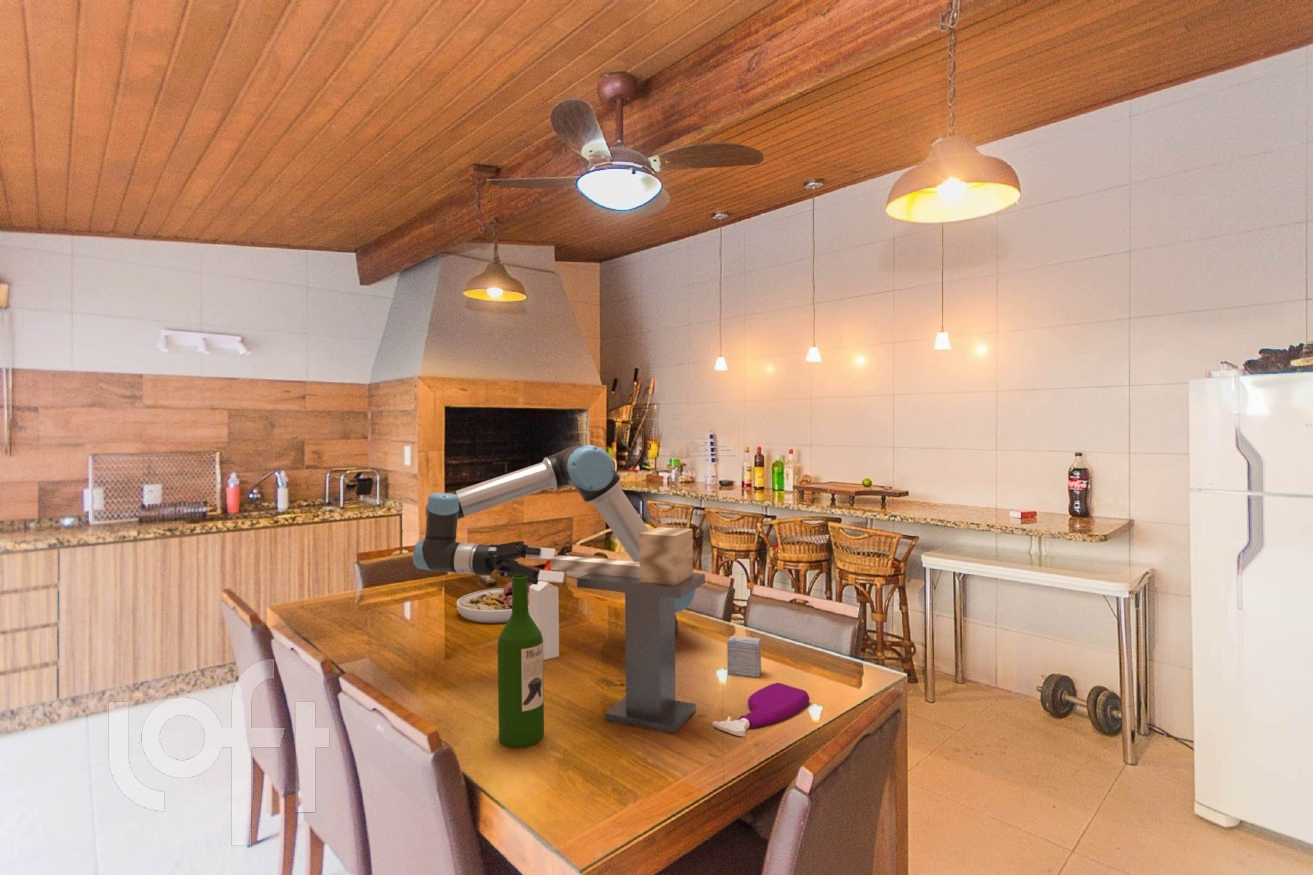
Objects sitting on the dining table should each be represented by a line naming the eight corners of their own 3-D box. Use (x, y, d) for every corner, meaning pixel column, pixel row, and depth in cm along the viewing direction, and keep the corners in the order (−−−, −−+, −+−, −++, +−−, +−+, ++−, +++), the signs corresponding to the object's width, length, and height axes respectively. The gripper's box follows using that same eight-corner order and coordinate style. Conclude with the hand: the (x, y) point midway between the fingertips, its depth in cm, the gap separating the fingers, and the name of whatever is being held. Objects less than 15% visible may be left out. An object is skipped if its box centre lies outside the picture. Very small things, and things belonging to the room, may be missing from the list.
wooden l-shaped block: (542, 572, 145) (542, 527, 145) (566, 563, 154) (566, 521, 154) (675, 585, 132) (674, 535, 132) (692, 574, 141) (692, 528, 141)
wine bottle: (522, 752, 124) (520, 583, 124) (489, 740, 129) (487, 577, 129) (553, 733, 132) (551, 574, 132) (520, 723, 137) (519, 569, 136)
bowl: (538, 626, 206) (538, 601, 206) (444, 626, 206) (443, 601, 206) (554, 601, 236) (554, 579, 236) (472, 601, 236) (471, 579, 236)
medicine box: (761, 672, 165) (761, 637, 164) (758, 678, 160) (758, 643, 160) (730, 668, 167) (730, 635, 167) (727, 674, 163) (726, 640, 163)
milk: (539, 661, 173) (538, 579, 173) (529, 655, 178) (528, 575, 178) (559, 656, 177) (558, 576, 177) (549, 650, 182) (548, 572, 182)
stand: (578, 717, 139) (576, 577, 139) (609, 693, 152) (608, 565, 152) (682, 738, 129) (680, 588, 129) (706, 710, 142) (704, 573, 142)
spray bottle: (814, 705, 145) (749, 746, 127) (772, 692, 153) (706, 729, 135) (813, 692, 145) (749, 731, 127) (772, 679, 153) (706, 715, 135)
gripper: (485, 592, 171) (564, 600, 168) (457, 551, 150) (546, 558, 148) (492, 566, 175) (570, 573, 173) (466, 522, 155) (553, 529, 152)
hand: (559, 566), depth 160 cm, fingers open, 13 cm apart
